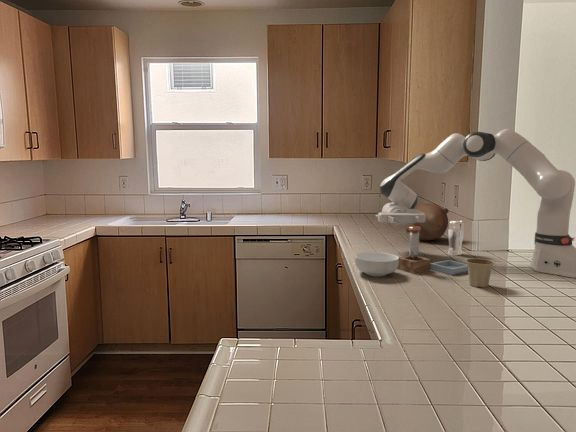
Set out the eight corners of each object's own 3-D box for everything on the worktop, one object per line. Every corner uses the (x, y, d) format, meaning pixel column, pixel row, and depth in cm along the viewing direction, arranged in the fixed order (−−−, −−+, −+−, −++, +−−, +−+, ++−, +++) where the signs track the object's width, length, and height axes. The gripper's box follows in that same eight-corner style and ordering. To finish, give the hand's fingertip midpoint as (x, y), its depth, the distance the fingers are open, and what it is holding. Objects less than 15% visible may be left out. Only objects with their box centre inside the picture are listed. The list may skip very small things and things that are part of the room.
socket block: (429, 270, 187) (430, 259, 186) (413, 273, 182) (414, 262, 182) (412, 265, 195) (413, 255, 194) (396, 268, 190) (397, 257, 189)
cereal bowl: (399, 281, 172) (399, 262, 171) (353, 278, 176) (353, 260, 175) (398, 269, 189) (398, 252, 188) (356, 267, 192) (356, 250, 191)
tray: (471, 271, 185) (471, 265, 184) (452, 275, 179) (452, 269, 179) (448, 265, 194) (448, 259, 194) (429, 269, 188) (429, 263, 188)
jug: (446, 244, 237) (434, 243, 267) (455, 206, 237) (442, 209, 267) (406, 236, 239) (398, 235, 269) (414, 198, 240) (406, 202, 269)
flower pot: (469, 280, 173) (470, 257, 172) (496, 284, 167) (498, 260, 166) (460, 285, 166) (461, 261, 164) (488, 290, 160) (489, 265, 159)
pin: (421, 270, 188) (423, 227, 185) (413, 271, 185) (414, 228, 183) (413, 267, 192) (414, 225, 189) (404, 269, 189) (406, 226, 187)
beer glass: (452, 256, 212) (454, 223, 210) (443, 252, 218) (445, 220, 216) (466, 255, 214) (467, 222, 211) (456, 252, 220) (458, 220, 218)
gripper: (374, 208, 211) (381, 212, 197) (420, 208, 212) (429, 212, 198) (374, 222, 212) (380, 227, 198) (419, 222, 213) (429, 227, 199)
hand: (405, 220), depth 198 cm, fingers open, 8 cm apart
